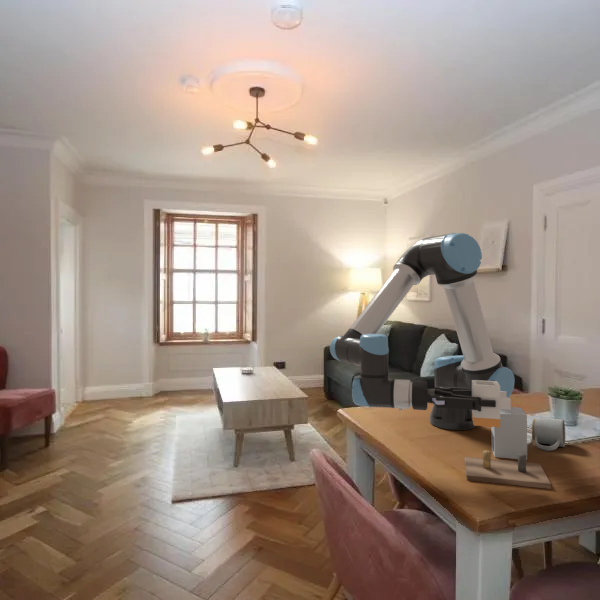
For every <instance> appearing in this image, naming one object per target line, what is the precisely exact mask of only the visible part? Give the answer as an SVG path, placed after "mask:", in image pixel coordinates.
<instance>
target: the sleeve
mask: <svg viewBox="0 0 600 600" xmlns="http://www.w3.org/2000/svg"><path fill="white" fill-rule="evenodd" d="M472 396H473V397H480V398H481V396H487V397H500V385H499V384H498V382H497V381H482V380H472ZM472 420H473V425H475V426H476V427H490V428H491V427H500V409H491V408H481V411H478V410H472Z"/></svg>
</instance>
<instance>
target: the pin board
mask: <svg viewBox="0 0 600 600" xmlns="http://www.w3.org/2000/svg"><path fill="white" fill-rule="evenodd" d="M491 453H492V452H491V451H490V450H483V451H482V457H472V456H463V457H464V460H463V461H464V467H465V474H466V480H467V481H473V482H480V481H481V482H482V483H489V482H491V483H492V484H499V483H500V484H499V485H510V486H517V485H518V487H519V486H520V487H528V488H537V489H546V490H547V489H548V490H551V489H552V483H551V481H550V479H549V477H548V476H547V475H546V473H545V470H544V469H543V467H542V465H541V463H537V462H528V461H527V460H526V455H525V454H521V453H520V454H518V459H517V460H515V461H514V460H505V459H504V460H503V459H494V458H492V455H491ZM481 482H480V483H481Z"/></svg>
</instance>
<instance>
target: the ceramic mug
mask: <svg viewBox="0 0 600 600" xmlns="http://www.w3.org/2000/svg"><path fill="white" fill-rule="evenodd" d="M531 435H532V436H531V437H532V440H533V442H535V445H536V447H537V448H538V449H540V450H543V451H546V452H547V451H548V452H550V451H554V450H555V451H556V450H557V449H558V448H559V447H561V448H564V447H566V438H567V437H566V424H565V420H564V419H561V418H549V417H547V418H546V417H535V418H533V420H532V424H531ZM542 444H545V445H542Z"/></svg>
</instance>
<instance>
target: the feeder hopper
mask: <svg viewBox="0 0 600 600" xmlns="http://www.w3.org/2000/svg"><path fill="white" fill-rule="evenodd" d="M490 432H491V434H490V435H491V436H490V438H491V440H490V441H491V445H490V446H491V450H492V453H493V457H494V458H501V459H512V460H518V454H520V453H521V454H525V455H526V461H527V460H528V415H527V413H526V412H525V411H524V409H523V407H520V406H519V407H517V406H511V410H507V409H500V427H490Z"/></svg>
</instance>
